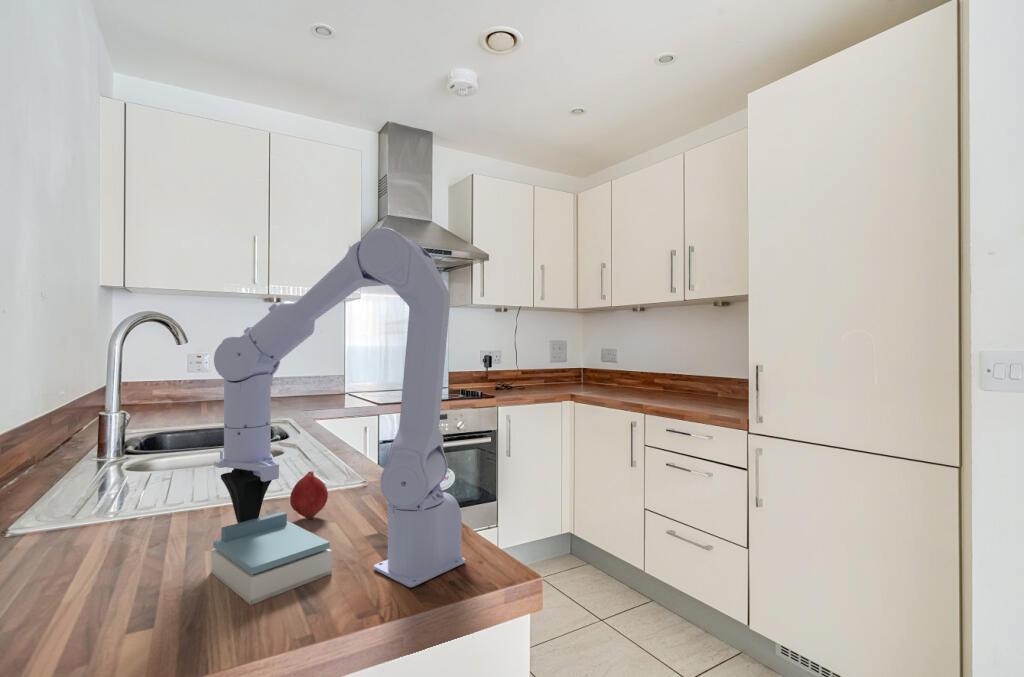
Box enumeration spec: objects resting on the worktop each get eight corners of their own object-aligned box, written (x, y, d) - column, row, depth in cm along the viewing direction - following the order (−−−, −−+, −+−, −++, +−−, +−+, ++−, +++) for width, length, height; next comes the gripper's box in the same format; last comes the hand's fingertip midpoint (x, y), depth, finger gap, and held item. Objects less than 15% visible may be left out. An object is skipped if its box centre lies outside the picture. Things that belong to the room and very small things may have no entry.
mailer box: (287, 548, 73) (287, 527, 73) (331, 573, 65) (331, 550, 65) (211, 572, 65) (211, 549, 65) (250, 604, 57) (250, 578, 57)
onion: (287, 526, 81) (287, 476, 81) (293, 514, 87) (293, 467, 87) (326, 523, 83) (326, 474, 83) (329, 511, 88) (329, 465, 88)
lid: (286, 526, 72) (287, 509, 72) (329, 548, 65) (329, 529, 65) (213, 547, 65) (213, 528, 65) (251, 574, 58) (251, 553, 58)
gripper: (196, 422, 71) (196, 518, 71) (238, 435, 62) (238, 546, 62) (248, 416, 77) (248, 506, 77) (294, 428, 67) (294, 529, 67)
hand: (247, 523), depth 70 cm, fingers closed
